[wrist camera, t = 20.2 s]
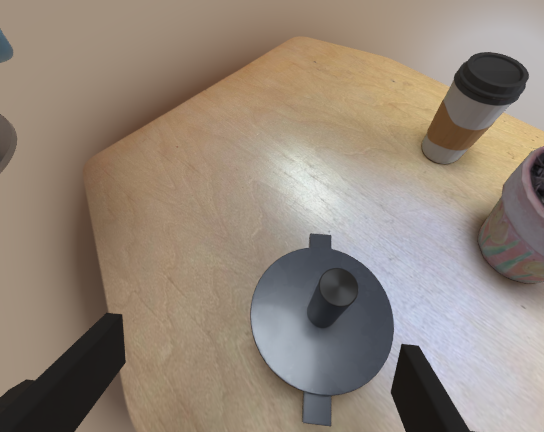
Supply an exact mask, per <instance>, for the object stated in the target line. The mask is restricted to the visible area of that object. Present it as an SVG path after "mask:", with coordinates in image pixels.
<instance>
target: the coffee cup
mask: <svg viewBox="0 0 544 432" xmlns="http://www.w3.org/2000/svg"><path fill="white" fill-rule="evenodd" d="M528 78H529V74H528V72H527V69H526V68H525V67H524V66H523V65H522V64H521V63H519V62H518V61H517V60H515V59H513V58H511V57H508V56H506V55H503V54H498V53H491V52H484V53H478V54H475V55H473V56H471V57H470V59H469V60H468V61H466V62H465V63H463V65H462V66H461V67H460V68H459V70H458V71H457V73H456V74H455V76H454V81H453V83H452V84H451V86H450V88H449V90H448V92H447V94H446V96H445V98H444V100H443V101H442V103H441V105H440V107H439V109H438V111H437V113H436V115H435V117H434V119H433V121H432V123H431V125H430V127H429V129H428V132H427V134H426V136H425V138H424V140H423V142H422V150H423V152H424V154H425V155H426V157H428V158H429V159H430V160H432V161H434V162H437V163H441V164H448V163H451V162H454V161H456V160H458V159H459V158H460V157H461V156H462V155H463V154H464V153H465V152H466V151H467V150H468V149H469V148H470V147H471V146H472V145H473V144H474V143H475V142H476V141H477V140H478V139H479V138H480V137H481V136H482V135H483V134H484V133H485V132H486V131H487V130H488V128H489V127H490V126H491V125H492V124H493V123H494V122H495V120H496V119H497V118H498V117H499V116H500V115H501V114H502V113H503V112H504V111H505V110H506V109H507V108H508V107H509V106H510V105H511V104H512V103H513V102H515V101H516V100H518V98H519V96H520V94H521V93H522V92H523V91H524V89H525V85H526V82H527V80H528Z"/></svg>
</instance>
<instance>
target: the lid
mask: <svg viewBox="0 0 544 432" xmlns="http://www.w3.org/2000/svg"><path fill="white" fill-rule="evenodd" d="M250 318H251V328H252V333H253V337H254V340H255V343H256V346H257V348H258V350H259V352H260V354H261V356H262V357H263V359H264V361H265V362H266V364H267V365H268V366H269V367H270V368H271V370H272V371H273V372H274V373H275V374H276V375H277V376H278V377H280V378H281V379H282V380H283V381H285V382H286V383H288V384H289V385H291V386H293V387H295V388H297V389H299V390H301V391H304V392H307V393H311V394H316V395H324V396H333V395H341V394H345V393H348V392H352V391H354V390H356V389H358V388H360V387H362V386H363V385H365V384H366V383H368V382H369V381H370V380H371V379H372V378H373V377H374V376H376V374H377V373H378V372H379V371H380V369H381V368H382V367H383V365H384V363H385V361H386V360H387V358H388V355H389V352H390V350H391V346H392V341H393V333H394V321H393V314H392V309H391V306H390V302H389V300H388V297H387V295H386V292H385V291H384V289H383V287H382V285H381V284H380V282H379V281H378V280H377V278H376V277H375V276H374V275H373V273H372V272H371V271H370V270H369V269H368V268H367V267H365V266H364V265H363V264H362V263H360V262H359V261H358V260H356V259H355V258H353V257H351V256H349V255H347V254H345V253H342V252H340V251H337V250H333V249H328V248H318V247H313V248H304V249H300V250H296V251H293V252H290V253H288V254H286V255H284V256H282V257H281V258H280V259H278V260H277V261H275V262H274V263H273V264H272V265H271V266H270V267H269V268H268V269H267V270H266V271H265V272H264V274H263V275H262V277H261V278H260V280H259V282H258V284H257V286H256V288H255V291H254V294H253V298H252V303H251V313H250Z"/></svg>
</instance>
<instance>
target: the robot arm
mask: <svg viewBox="0 0 544 432" xmlns="http://www.w3.org/2000/svg"><path fill="white" fill-rule="evenodd" d="M12 56H13V49H12V47H11V45H10V44H9V42H8V41H7V39H6V37H5V36H4V35H3V33H2V31H1V30H0V63H1V62H4V61H7V60H9V59H11V58H12ZM125 363H126V360H125V346H124V333H123V319H122V314H113V313H106V314H105V315H104V316H103V317H102V318H101V319H100V320H99V321H98V322H96V323H95V324H94V325H93V326H92V327H91V328H90V329H89V330H88V331H87V332H86V333H85V334H84V335H83V336H82V337H81V338H80V339H78V340H77V341H76V342H75V343H74V344H73V345H72V346H71V347H70V348H69V349H68V350H67V351H66V352H65V353H64V354H63V355H62V356H61V357H59V358H58V360H56V361H55V362H54V363H53V364H52V365H51V366H50V367H49V368H48V369H47V370H46V371H45V372H44V373H43V374H42V375H40V377H38V379H36V380H35V381H34V380H25V381H23V382H21V383H20V384H18V385H16V386H15V387H13V388H11V389H10V390H8V391H7V392H6V393H5V394H4V395H3V396H1V397H0V432H74V431H75V430H76V428H78V426H79V425H80V423H81V422H82V421H83V419H84V418H85V417H86V415H87V414H88V413H89V411H90V410H91V409H92V407H93V406H94V405H95V403H96V401H97V400H98V399H99V398H100V396H101V395H102V394H103V392H104V391H105V390H106V388H107V387H108V386H109V384H110V383H111V382H112V380H113V378H114V377H115V376H116V375H117V373H118V372H119V371H120V369H121V368H122V367H123V365H124V364H125ZM391 394H392V397H393V400H394V402H395V405H396V408H397V410H398V413H399V415H400V418H401V421H402V423H403V426H404V428H405V431H406V432H474V431H470V430H469V429H468V427H467V425H466V424H465V422H464V420H463V419H462V417H461V415H460V414H459V412H458V410H457V409H456V407H455V405H454V404H453V402H452V400H451V399H450V397H449V395H448V394H447V392H446V390H445V389H444V387H443V385H442V384H441V382H440V380H439V379H438V377H437V375H436V374H435V372H434V370H433V369H432V367H431V366H430V364H429V362H428V361H427V359H426V357H425V356H424V354H423V352H422V351H421V349H420V347H419V346H416V345H407V344H401V349H400V353H399V358H398V362H397V367H396V371H395V375H394V380H393V384H392V389H391Z"/></svg>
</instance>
